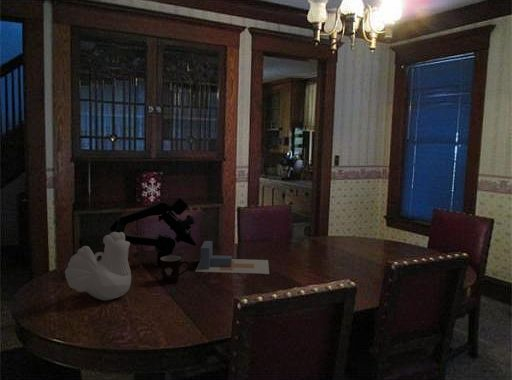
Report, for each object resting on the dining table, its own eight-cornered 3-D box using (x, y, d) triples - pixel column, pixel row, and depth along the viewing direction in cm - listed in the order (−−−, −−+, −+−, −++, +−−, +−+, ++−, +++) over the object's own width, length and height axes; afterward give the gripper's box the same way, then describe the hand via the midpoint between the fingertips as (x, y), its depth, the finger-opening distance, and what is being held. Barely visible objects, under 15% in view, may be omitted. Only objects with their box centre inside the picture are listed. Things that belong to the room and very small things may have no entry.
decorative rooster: (123, 285, 174) (123, 226, 171) (138, 297, 162) (138, 233, 159) (58, 298, 159) (56, 233, 156) (69, 312, 147) (67, 242, 144)
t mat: (194, 272, 194) (194, 271, 194) (201, 258, 216) (201, 258, 216) (269, 274, 194) (269, 273, 194) (268, 260, 216) (268, 260, 216)
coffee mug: (155, 282, 180) (155, 259, 179) (169, 276, 187) (169, 254, 186) (177, 287, 174) (178, 263, 173) (190, 281, 182) (190, 258, 181)
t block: (200, 268, 198) (200, 248, 197) (204, 260, 212) (204, 240, 211) (230, 269, 198) (230, 248, 197) (232, 261, 212) (232, 241, 211)
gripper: (182, 213, 193) (206, 238, 195) (187, 207, 212) (209, 230, 213) (165, 230, 194) (188, 254, 196) (171, 222, 212) (193, 244, 214)
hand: (195, 245), depth 205 cm, fingers closed
